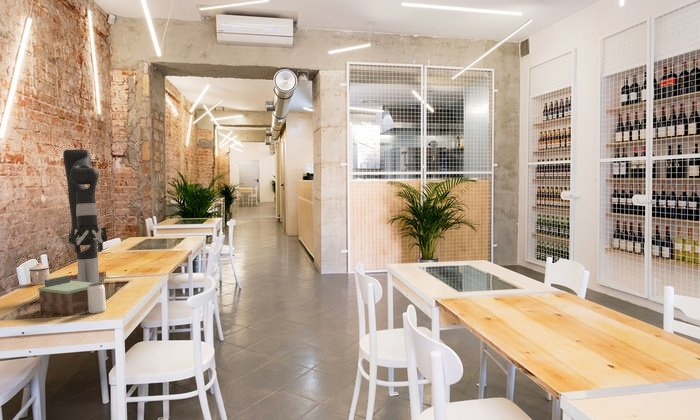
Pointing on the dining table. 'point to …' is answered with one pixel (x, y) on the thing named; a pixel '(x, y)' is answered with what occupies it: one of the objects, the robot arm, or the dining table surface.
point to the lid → (64, 285)
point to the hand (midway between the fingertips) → (89, 253)
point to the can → (96, 298)
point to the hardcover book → (101, 276)
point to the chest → (64, 302)
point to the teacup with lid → (39, 274)
